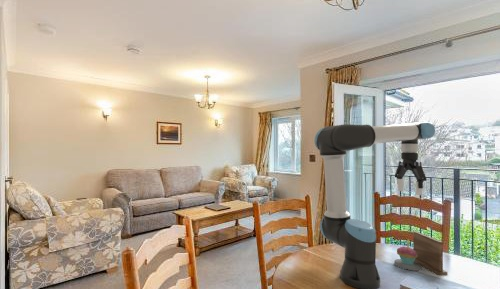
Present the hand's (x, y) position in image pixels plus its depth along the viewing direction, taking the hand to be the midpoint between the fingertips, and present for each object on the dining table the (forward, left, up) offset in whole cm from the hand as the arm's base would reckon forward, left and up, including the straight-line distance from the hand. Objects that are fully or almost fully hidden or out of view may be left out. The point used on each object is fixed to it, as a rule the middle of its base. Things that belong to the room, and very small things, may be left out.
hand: (409, 192), depth 135 cm
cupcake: (-9, -11, -32) cm, 35 cm away
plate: (-9, -11, -33) cm, 36 cm away
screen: (0, -12, -33) cm, 35 cm away
